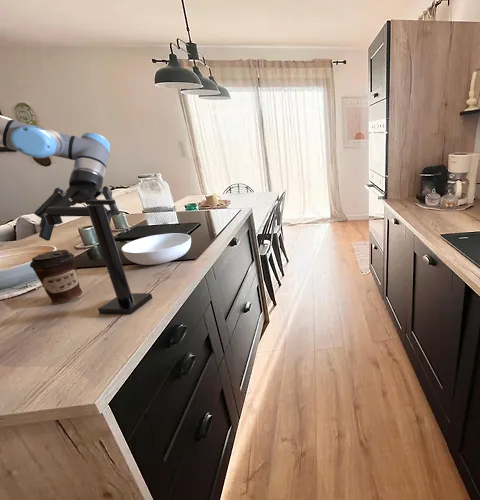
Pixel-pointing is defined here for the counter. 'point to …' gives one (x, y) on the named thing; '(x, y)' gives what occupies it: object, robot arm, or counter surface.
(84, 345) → the counter surface
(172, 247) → the serving bowl
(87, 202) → the tap
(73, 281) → the coffee cup
